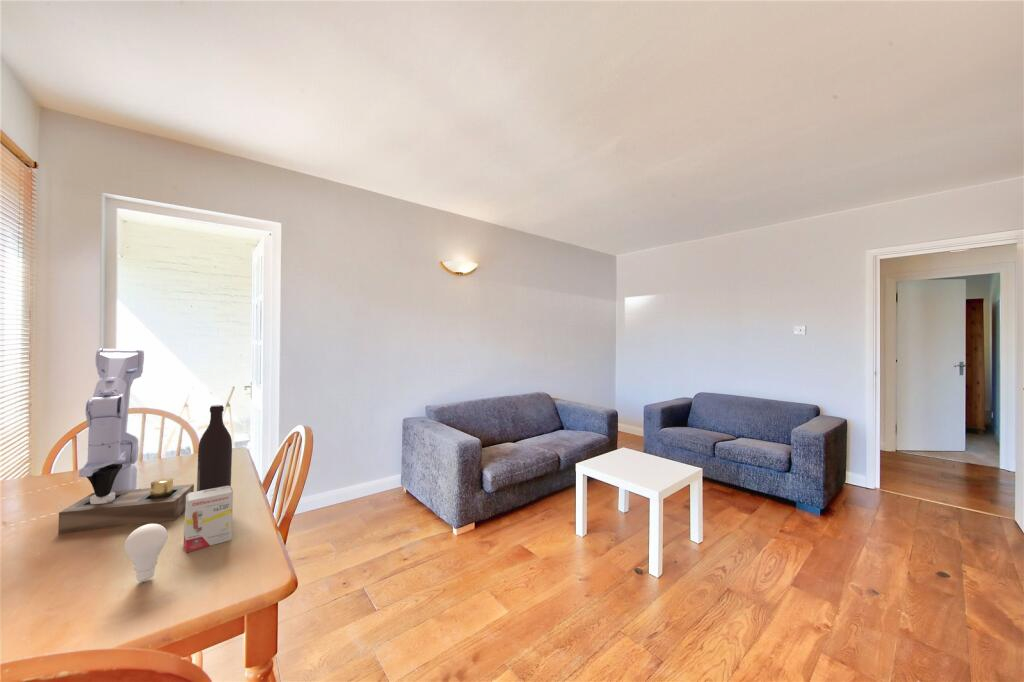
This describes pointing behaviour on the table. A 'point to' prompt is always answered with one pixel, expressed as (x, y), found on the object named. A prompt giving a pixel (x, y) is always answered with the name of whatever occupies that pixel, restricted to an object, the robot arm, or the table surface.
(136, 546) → the lightbulb
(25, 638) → the table surface
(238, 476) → the table surface
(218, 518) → the ink box
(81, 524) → the peg board
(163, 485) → the brass peg
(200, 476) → the wine bottle
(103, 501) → the steel peg
